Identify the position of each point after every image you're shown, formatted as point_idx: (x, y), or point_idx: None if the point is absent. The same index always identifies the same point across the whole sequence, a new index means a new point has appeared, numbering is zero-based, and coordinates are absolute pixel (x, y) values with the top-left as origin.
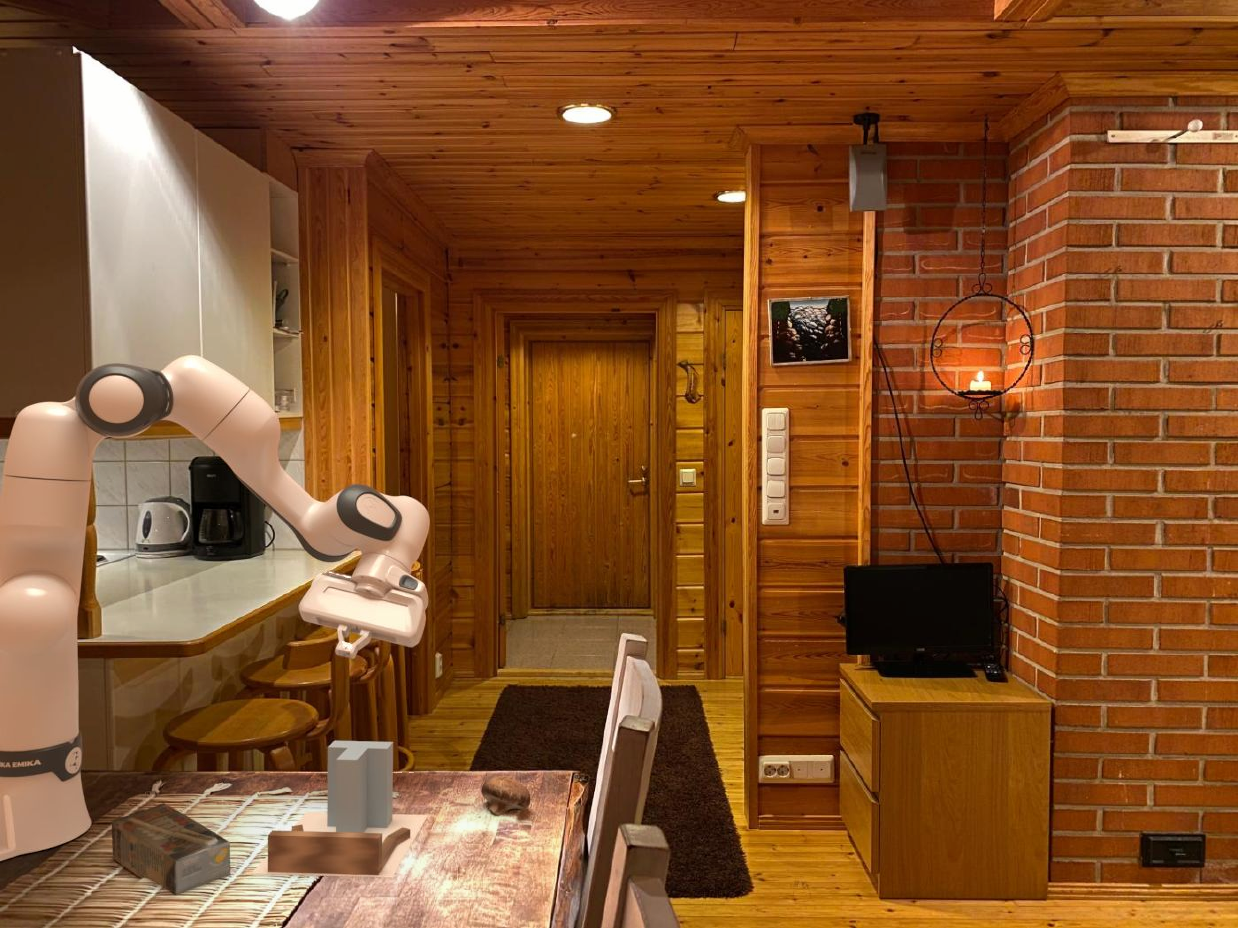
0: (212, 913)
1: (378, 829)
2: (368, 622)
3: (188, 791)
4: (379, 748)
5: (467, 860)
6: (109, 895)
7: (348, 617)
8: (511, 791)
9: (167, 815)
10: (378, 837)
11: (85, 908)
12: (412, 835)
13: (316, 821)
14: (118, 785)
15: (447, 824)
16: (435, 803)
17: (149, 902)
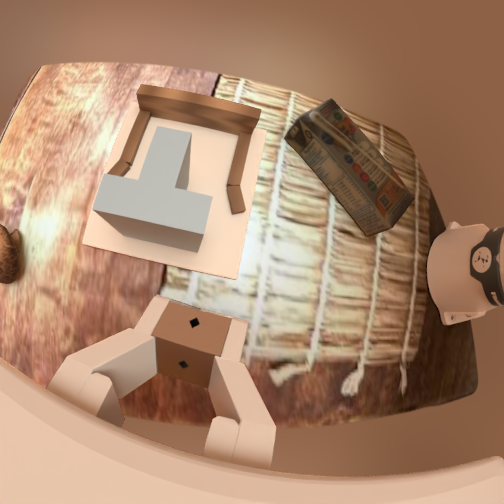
0: (282, 93)
1: None
2: (29, 415)
3: (377, 369)
4: (117, 176)
5: (61, 143)
6: None
7: (206, 498)
8: None
9: (377, 188)
10: (141, 86)
11: (372, 130)
12: None
13: (219, 245)
14: (428, 377)
15: (65, 232)
16: (76, 301)
17: None
